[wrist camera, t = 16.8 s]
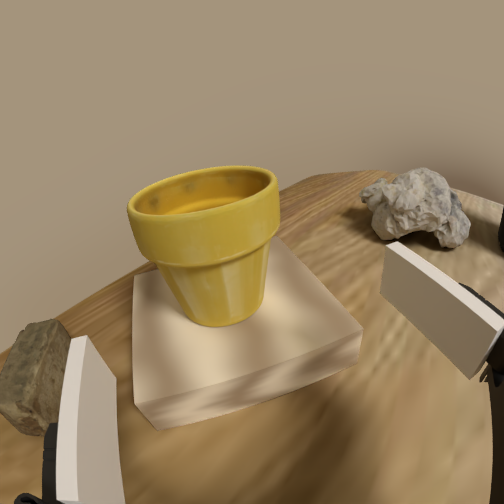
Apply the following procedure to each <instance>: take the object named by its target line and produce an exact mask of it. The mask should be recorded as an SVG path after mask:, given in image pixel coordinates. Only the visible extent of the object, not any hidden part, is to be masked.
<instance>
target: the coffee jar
mask: <svg viewBox="0 0 504 504" xmlns="http://www.w3.org/2000/svg"><path fill="white" fill-rule="evenodd" d="M498 239H499V242H500V247H501V249H502V251H503V252H504V208H503V213H502V218H501V223H500V227H499V232H498Z"/></svg>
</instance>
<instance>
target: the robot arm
mask: <svg viewBox="0 0 504 504" xmlns="http://www.w3.org/2000/svg"><path fill="white" fill-rule="evenodd" d="M380 294H381V295H382V296H383V297H384V298H385V299H387V300H388V301H389V302H390V303H391V304H392V305H393V306H394V307H395V308H396V309H397V310H398V311H400V312H401V313H402V314H403V315H404V316H405V317H406V318H407V319H408V320H409V321H410V322H411V323H412V324H413V325H414V326H416V327H417V328H418V329H419V330H420V331H421V332H422V333H423V334H424V335H425V336H426V337H427V338H428V339H429V340H430V341H431V342H432V343H433V344H434V345H435V346H436V347H437V348H438V349H439V350H440V351H441V352H442V353H443V354H444V355H445V356H446V357H447V358H448V359H449V360H450V361H451V362H452V363H453V364H454V365H455V366H456V367H457V368H458V369H459V370H460V371H461V372H462V373H463V374H464V375H465V376H466V377H467V378H468V379H469V380H470V379H471V378H472V377H474V376H475V375H476V374H477V373H478V372H479V371H480V369H481V368H482V366H483V365H484V363H485V361H486V362H487V363H488V365H487V367H486V368H485V370H484V371H483V373H482V375H481V376H480V381H479V382H482V381H483V379H484V378H485V376H486V375H487V377H486V378H485V381H484V382H488V384H489V392H490V402H491V414H492V432H493V465H492V483H491V494H490V503H489V504H504V314H503V313H502V312H501V311H500V310H499V309H497V308H496V307H495V306H494V305H492V304H491V303H490V302H489V301H487V300H485V298H483V297H482V296H481V295H478V293H477V292H476V291H474V290H473V289H472V288H470V287H468V286H466V285H464V284H461V283H457V282H455V281H454V280H453V279H451V278H450V277H449V276H447V275H446V274H444V273H443V272H442V271H440V270H439V269H437V268H436V267H435V266H433V265H432V264H430V263H429V262H427V261H426V260H425V259H423V258H422V257H420V256H419V255H417V254H416V253H414V252H413V251H411V250H410V249H408V248H407V247H405V246H404V245H402V244H401V243H399V242H398V241H397V242H394V243H391V244H389V245H386V248H385V257H384V266H383V273H382V281H381V287H380ZM43 459H44V461H43V467H42V500H41V499H39V498H37V497H35V496H33V495H31V494H29V493H22V494H20V495H19V496H18V497H17V498H16V499H15V501H14V504H125V498H124V492H123V484H122V476H121V468H120V458H119V446H118V431H117V405H116V378H115V376H114V375H113V373H112V372H111V371H110V369H109V368H108V366H107V365H106V363H105V362H104V360H103V359H102V358H101V356H100V355H99V353H98V351H97V350H96V348H95V347H94V345H93V344H92V342H91V341H90V339H89V337H88V336H87V335H86V336H82V337H78V338H73V339H71V343H70V348H69V353H68V358H67V364H66V369H65V375H64V382H63V388H62V395H61V403H60V412H59V422H56V423H50V424H49V426H48V428H47V431H46V433H45V436H44V451H43Z"/></svg>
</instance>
